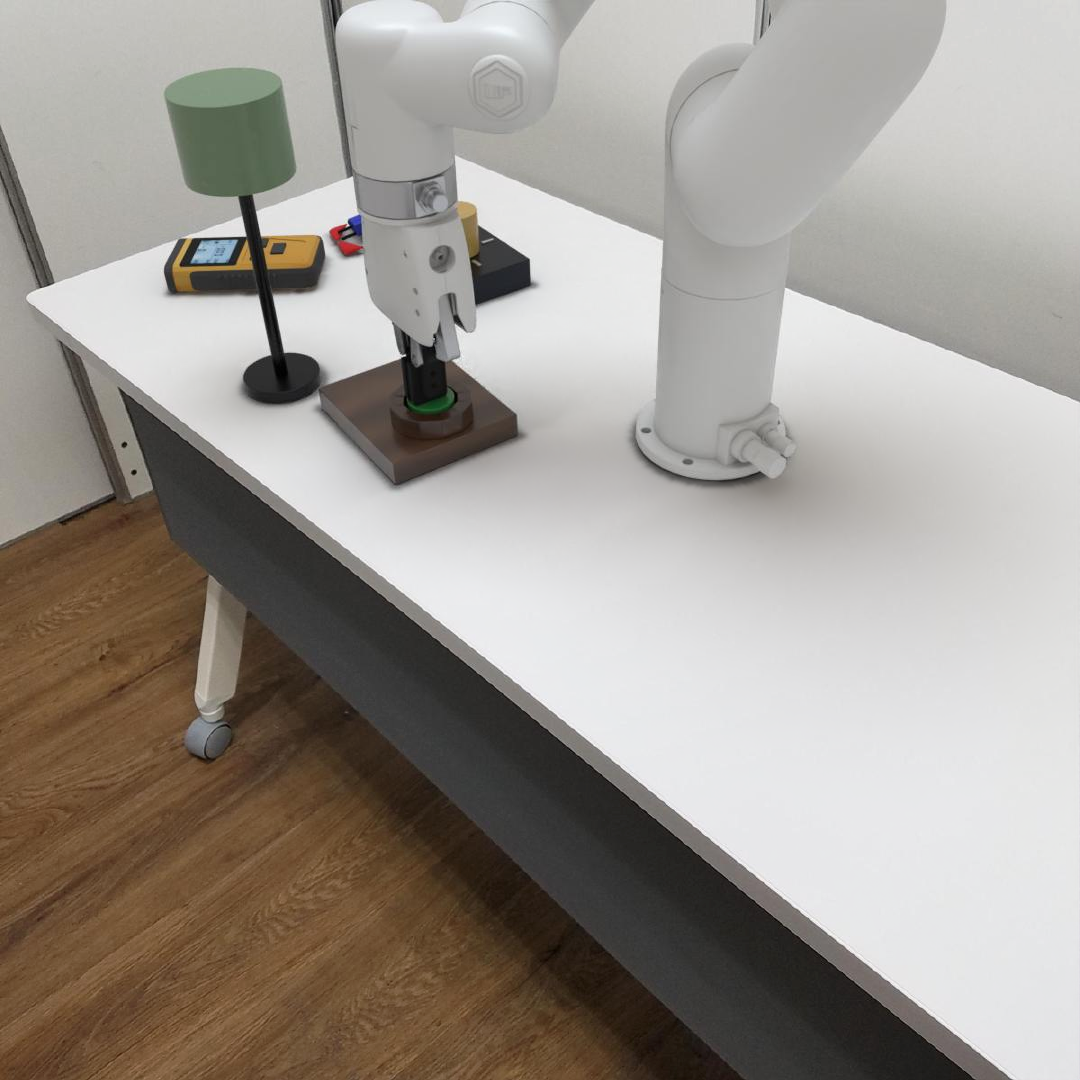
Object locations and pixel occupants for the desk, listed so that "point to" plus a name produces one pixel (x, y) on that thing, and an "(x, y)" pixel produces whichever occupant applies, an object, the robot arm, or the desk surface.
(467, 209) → the knob
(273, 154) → the lamp
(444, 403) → the switch
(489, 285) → the dimmer panel
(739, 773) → the desk surface
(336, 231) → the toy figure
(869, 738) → the desk surface
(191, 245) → the electronic device
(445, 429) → the button base
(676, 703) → the desk surface
